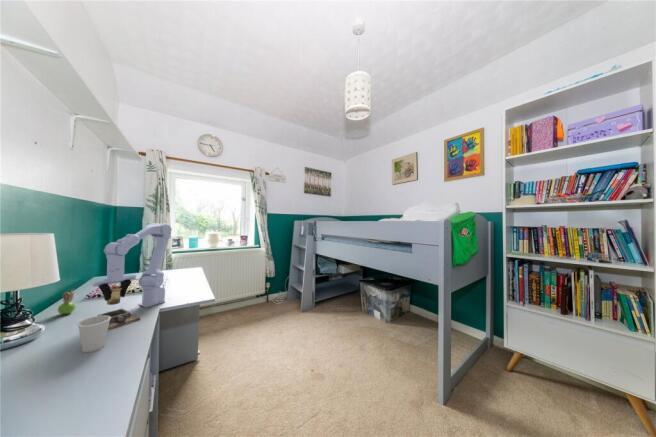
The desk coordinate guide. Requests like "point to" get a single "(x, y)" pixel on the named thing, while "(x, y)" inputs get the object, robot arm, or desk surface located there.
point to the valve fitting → (114, 295)
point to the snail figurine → (67, 303)
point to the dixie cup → (93, 332)
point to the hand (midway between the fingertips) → (114, 298)
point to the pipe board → (128, 320)
